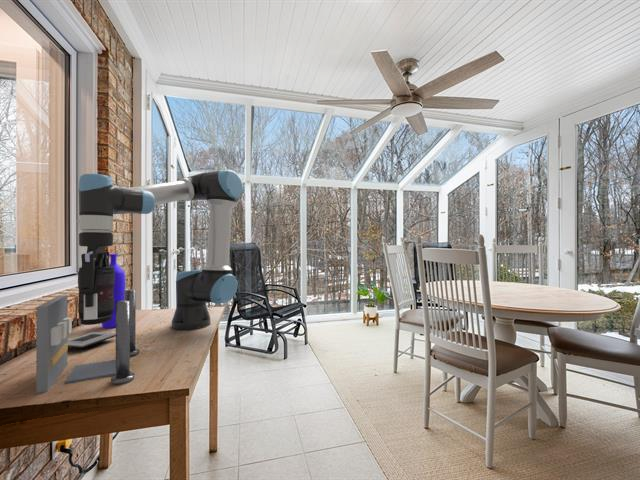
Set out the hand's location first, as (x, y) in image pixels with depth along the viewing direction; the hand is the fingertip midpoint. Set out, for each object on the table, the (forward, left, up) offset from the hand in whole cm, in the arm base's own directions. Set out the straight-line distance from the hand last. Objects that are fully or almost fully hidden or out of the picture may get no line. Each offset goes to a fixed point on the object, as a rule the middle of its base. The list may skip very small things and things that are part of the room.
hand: (96, 315), depth 82 cm
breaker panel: (+9, 0, -15) cm, 18 cm away
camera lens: (0, 0, -2) cm, 2 cm away
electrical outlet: (+3, -24, -15) cm, 28 cm away
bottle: (+2, -51, -15) cm, 53 cm away
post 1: (-7, +10, -15) cm, 19 cm away
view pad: (0, 0, -15) cm, 15 cm away
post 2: (-7, -10, -15) cm, 20 cm away
